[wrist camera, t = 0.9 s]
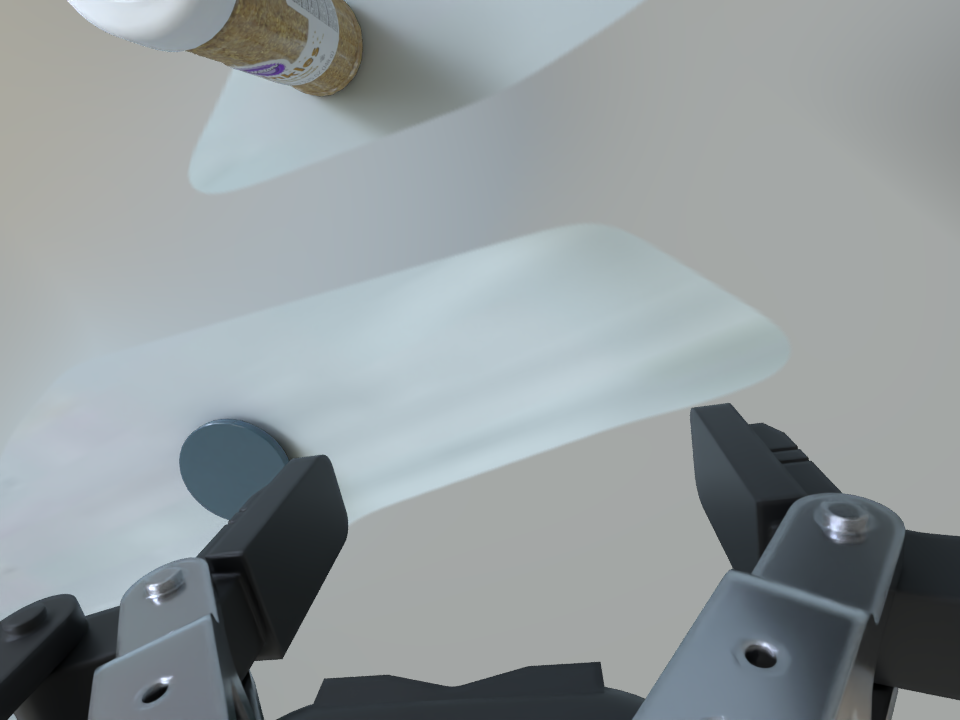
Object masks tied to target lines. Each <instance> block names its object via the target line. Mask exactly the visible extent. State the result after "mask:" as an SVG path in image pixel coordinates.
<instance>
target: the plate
mask: <svg viewBox="0 0 960 720" xmlns="http://www.w3.org/2000/svg"><path fill="white" fill-rule="evenodd" d="M288 462H289V459H288V457H287V455H286V453H285V452H284V450H283V449H282V447H281V446H280V445H279V444H278V442H277V441H276V440H275V439H274V438H273V437H272V436H270V435H269V434H268V433H267V432H265V431H264V430H262V429H260V428H259V427H257V426H255V425H253V424H250V423H247V422H244V421H240V420H235V419H220V420H214V421H211V422H208V423H206V424H204V425H202V426H200V427H199V428H198V429H196V430H195V431H194V432H192V433H191V434H190V435H189V436H188V438H187V439H186V441H185V442H184V444H183V446H182V449H181V452H180V459H179V464H180V472H181V475H182V479H183V481H184V483H185V485H186V487H187V489H188V490H189V492H190V493H191V495H192V496H193V497H194V498H195V499H196V500H197V501H198V502H199V503H200V504H201V505H202V506H203V507H204V508H206V509H207V510H209V511H210V512H212V513H214V514H215V515H217V516H220V517H222V518H224V519H227V520H230V519H231V518H232V517H233V516H234V515H235V514H236V513H238V512H239V509H240V508H241V507H242V506H243V505H244V504H245V503H246V502H247V501H248V499H249V498H250V497H251V496H252V495H254V494H255V493H256V492H258V491H259V490H261V489H262V488H264V487H265V486H267V485H268V484H269V483H270V482H271V481H272V480H273V479H274V478H275V477H276V476H277V474H278V473H279V472H280V471H281V470H282V469H283V468H284V466H285V465H286V464H287V463H288Z"/></svg>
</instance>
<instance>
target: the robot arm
mask: <svg viewBox="0 0 960 720" xmlns="http://www.w3.org/2000/svg"><path fill="white" fill-rule="evenodd" d="M690 423H691V434H692V447H693V458H694V470H695V480H696V486H697V490H698V494H699V498H700V501H701V504H702V506H703V508H704V510H705V512H706V515H707V517H708V519H709V521H710V523H711V524H712V526H713V529H714V531H715V533H716V535H717V537H718V539H719V541H720V543H721V545H722V547H723V549H724V551H725V553H726V555H727V557H728V559H729V561H730V563H731V565H732V567H733V569H731V570H729V571H728V572H727V573H726V574H725V576H724V577H723V578H722V580H721V581H720V583H719V585H718V586H717V588H716V589H715V591H714V592H713V594H712V595H711V597H710V599H709V600H708V602H707V603H706V605H705V607H704V608H703V610H702V611H701V613H700V614H699V616H698V617H697V619H696V621H695V622H694V624H693V625H692V627H691V628H690V630H689V631H688V633H687V635H686V636H685V638H684V639H683V641H682V643H681V644H680V646H679V647H678V649H677V650H676V652H675V654H674V655H673V657H672V658H671V660H670V661H669V663H668V664H667V666H666V667H665V669H664V671H663V672H662V674H661V676H660V677H659V678H658V680H657V682H656V683H655V685H654V686H653V688H652V689H651V691H650V693H649V694H648V696H647V697H646V699H644V698H642V697H639V696H637V695H634V694H631V693H628V692H624V691H621V690H617V689H612V688H607V687H604V682H603V675H602V669H601V663H600V662H591V663H574V664H557V665H541V666H528V667H524V668H521V669H517V670H514V671H510V672H507V673H503V674H500V675H496V676H493V677H489V678H486V679H482V680H479V681H475V682H472V683H468V684H465V685H461V686H456V687H449V686H442V685H438V684H432V683H428V682H422V681H417V680H412V679H407V678H402V677H396V676H391V675H377V676H361V677H344V678H328V679H324V681H323V683H322V685H321V687H320V690H319V692H318V694H317V697H316V699H315V701H314V704H312V705H308V706H306V707H303V708H300V709H298V710H296V711H293V712H291V713H289V714H287V715H285V716H283V717H281V718H279V719H277V720H891V719H892V715H893V711H894V706H895V702H896V698H897V694H898V688H901V689H906V690H911V691H916V692H921V693H926V694H931V695H936V696H941V697H946V698H951V699H956V700H960V536H949V535H940V534H929V533H921V532H915V531H910V530H905V526H904V523H903V521H902V520H901V518H900V517H899V516H898V515H897V514H896V513H895V512H893V511H892V510H890V509H889V508H887V507H886V506H884V505H882V504H880V503H877V502H875V501H873V500H870V499H867V498H864V497H859V496H855V495H849V494H843V493H842V492H841V491H840V490H839V489H838V488H837V487H836V486H835V485H834V484H833V483H832V482H831V481H830V480H829V479H828V478H827V477H826V476H825V475H824V474H823V472H821V470H820V469H819V468H818V467H817V466H816V465H815V464H814V463H813V462H812V461H809V459H808V457H807V456H806V455H805V454H804V453H803V452H802V451H801V450H800V449H798V447H797V445H796V444H795V443H794V442H793V441H792V440H791V439H790V438H789V437H788V436H787V435H786V434H785V433H784V432H781V431H779V430H777V429H775V428H773V427H770V426H768V425H766V424H764V423H757V424H748V423H747V422H746V421H745V420H744V419H743V418H742V416H741V415H740V414H739V413H738V412H737V410H736V409H735V408H734V407H733V406H732V405H731V404H730V403H726V404H718V405H710V406H702V407H695V408H691V412H690ZM347 534H348V517H347V513H346V509H345V506H344V503H343V499H342V496H341V493H340V489H339V486H338V483H337V479H336V476H335V473H334V469H333V466H332V463H331V461H330V459H329V458H328V457H327V456H326V455H317V456H309V457H302V458H294V459H291V460H290V461H289V462H288V463H287V464H286V465H285V466H284V468H283V469H282V470H281V471H280V472H279V473H278V474H277V476H276V477H275V478H274V479H273V480H272V481H271V482H270V483H269V484H268V485H267V486H265V487H264V488H262V489H261V490H259V491H258V492H256V493H255V494H254V495H252V496H251V497H250V498H249V499H248V501H247V502H246V503H245V504H244V505H243V506H242V507H241V508H240V509H239V512H238V513H236V514H235V515H234V516H233V517H232V518H231V519H230V520H229V521H228V525H225V526H224V527H223V528H222V529H221V530H220V531H219V532H218V534H217V535H216V536H215V537H214V538H213V539H212V540H211V541H210V542H209V543H208V545H207V546H206V547H205V548H204V549H203V550H202V551H201V552H200V553H199V554H198V556H197V557H196V558H184V559H180V560H176V561H173V562H170V563H168V564H165V565H163V566H161V567H159V568H157V569H155V570H153V571H151V572H150V573H148V574H146V575H145V576H143V577H142V578H141V579H139V580H138V581H137V582H136V583H134V584H133V585H132V586H131V587H130V588H129V589H128V590H127V591H126V593H125V594H124V595H123V597H122V599H121V603H120V606H117V607H114V608H111V609H107V610H104V611H101V612H98V613H94V614H91V615H88V616H85V615H84V613H83V611H82V609H81V607H80V605H79V603H78V601H77V599H76V597H75V596H73V595H70V594H60V595H55V596H51V597H47V598H44V599H42V600H39V601H36V602H34V603H32V604H30V605H27V606H25V607H23V608H21V609H20V610H18V611H16V612H14V613H13V614H11V615H9V616H8V617H6V618H5V619H3V620H2V621H1V622H0V720H8V718H9V717H10V716H11V715H12V714H13V713H14V715H15V717H16V718H17V720H264V717H263V713H262V709H261V705H260V702H259V697H258V693H257V689H256V685H255V682H254V679H253V677H252V674H251V672H250V667H251V666H252V664H253V662H254V661H262V660H277V659H283V657H284V655H285V653H286V651H287V649H288V648H289V646H290V644H291V642H292V640H293V638H294V636H295V635H296V633H297V631H298V629H299V627H300V625H301V623H302V621H303V620H304V618H305V616H306V614H307V612H308V610H309V608H310V606H311V605H312V603H313V601H314V599H315V597H316V595H317V594H318V592H319V590H320V588H321V586H322V584H323V582H324V581H325V579H326V577H327V575H328V573H329V571H330V569H331V567H332V566H333V564H334V562H335V560H336V558H337V556H338V554H339V553H340V550H341V549H342V547H343V545H344V543H345V541H346V538H347Z"/></svg>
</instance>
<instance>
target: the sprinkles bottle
mask: <svg viewBox="0 0 960 720" xmlns="http://www.w3.org/2000/svg"><path fill="white" fill-rule="evenodd" d="M68 2H69V3H70V4H71V5H72V6H73V7H74V8H75V9H76V10H77V11H78V12H79V13H80V14H81V15H82V16H83V17H84V18H85V19H86V20H88V21H89V22H91V23H92V24H93V25H95V26H96V27H98V28H100V29H102V30H103V31H105V32H107V33H109V34H112V35H114V36H116V37H120V38H122V39H125V40H128V41H131V42H134V43H137V44H139V45H142V46H146V47H149V48H152V49H156V50H161V51H168V52H178V51H188V52H192V53H194V54H197V55H199V56H203V57H206V58H209V59H212V60H215V61H219V62H222V63H224V64H225V65H227V66H229V67H231V68H234V69H237V70H240V71H243V72H246V73H249V74H253V75H256V76H259V77H262V78H264V79H267V80H270V81H273V82H276V83H280V84H284V85H290V86H292V87H294V88H295V89H297V90H299V91H301V92H303V93H306V94H310V95H316V96H326V95H332V94H334V93H336V92H338V91H340V90H342V89H343V88H345V87H346V86H347V84H348V83H349V82H350V81H351V80H352V79H353V77H354V76H355V75H356V73H357V70H358V68H359V65H360V63H361V57H362V50H363V45H362V33H361V28H360V26H359V24H358V22H357V19H356V17H355V15H354V13H353V11H352V10H351V8H350V7H349V6H348V4H347V3H346V2H345V1H343V0H68Z"/></svg>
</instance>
